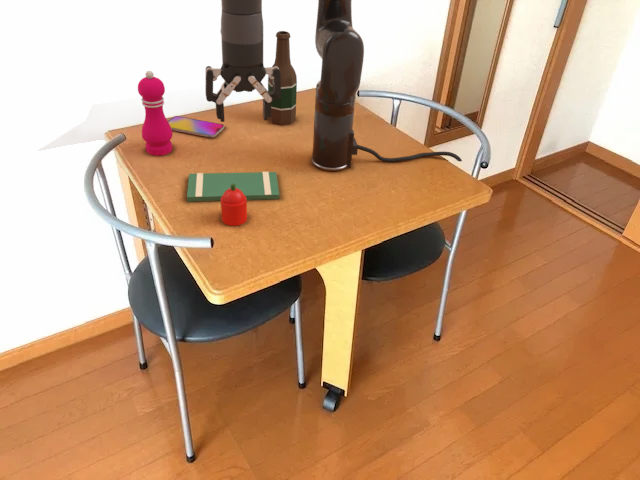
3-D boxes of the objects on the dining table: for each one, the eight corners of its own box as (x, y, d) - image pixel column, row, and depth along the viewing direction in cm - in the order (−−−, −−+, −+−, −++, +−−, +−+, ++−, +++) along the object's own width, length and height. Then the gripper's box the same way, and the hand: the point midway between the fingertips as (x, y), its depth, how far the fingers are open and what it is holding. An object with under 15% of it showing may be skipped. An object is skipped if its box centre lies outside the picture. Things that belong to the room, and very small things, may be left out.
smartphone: (175, 115, 152) (225, 124, 149) (175, 117, 152) (225, 127, 149) (161, 126, 146) (213, 136, 143) (162, 128, 147) (213, 138, 143)
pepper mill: (166, 158, 134) (157, 78, 122) (139, 154, 135) (126, 74, 123) (178, 145, 140) (170, 67, 128) (152, 141, 141) (141, 63, 129)
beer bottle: (294, 126, 152) (297, 38, 138) (266, 124, 152) (266, 36, 138) (296, 114, 159) (299, 28, 144) (269, 113, 158) (269, 27, 144)
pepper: (246, 211, 118) (245, 177, 113) (247, 225, 114) (246, 191, 109) (221, 212, 117) (219, 178, 112) (221, 226, 113) (219, 191, 108)
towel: (276, 176, 130) (276, 171, 130) (279, 199, 123) (279, 194, 122) (189, 178, 127) (189, 173, 127) (187, 201, 120) (186, 196, 119)
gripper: (203, 43, 95) (209, 129, 105) (285, 42, 98) (283, 126, 108) (200, 29, 101) (206, 113, 110) (277, 29, 104) (276, 110, 114)
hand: (244, 119), depth 109 cm, fingers open, 8 cm apart
